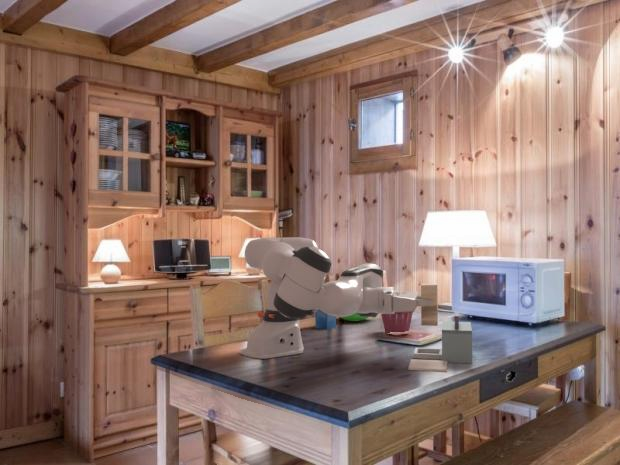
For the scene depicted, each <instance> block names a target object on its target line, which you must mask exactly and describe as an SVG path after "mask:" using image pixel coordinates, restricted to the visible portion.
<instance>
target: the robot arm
mask: <svg viewBox="0 0 620 465" xmlns="http://www.w3.org/2000/svg"><path fill="white" fill-rule="evenodd" d="M244 258H245V262H246V264H248V266H249V267H250V268H253V269H259V270H262V273H263V274H264V275H265V277H266V278H267V279H268V280H269V281H271V282H269V284H268V286H267V288H266V309H265V311H261V310H259V311H258V312H257V313H256V314H257V317H258V318H262V322H260V323H259V324H258V325H257V327H255V329H253V331H251V332H250V333H249V335H248V337H247V340H246V348H242V349H240V351H239V353H240V354H241V355H242V354H243V355H242V356H245V357H249V358H252V359H253V358H254V359H264V360H265V359H273V358H279V357H286V356H291V355H299V354H304V353H303V352H304V350H305V347H304V344H303V339H302V334H301V327H300V319H303V318H305V317H307V316H310V317H311V316H314V310H315V309H317V310H318V309H319V310H321V311H323V312H325V313H326V314H329V315H332V316H336V318H337V317H338V318H341V317H345V316H350V315H352V314H354V313H357V314H358V315H359V316H360V317H368V318H376V317H377V316H378V315H381V314H394V313H395V312H408V311H414V312H415V311H417V308H418V307H421V306H431V305H432V300H431V299H426V300H421V295H420V294H419V292H418V291H400V290H395V287H394V286H383V279H384V278H383V277H384V270H383V269H382V268H381V267H380V266H379V265H378V264H376V263H369V262H368V263H362V264H359V265H357V266H356V267H352V268H349V269H346V270H344V271H342V272H341V274H340V276H339V278H338V279H337V280H331V281H330V280H329V281H327V282H325V280H326V279H327V278H326V277H327V275H328V274H330V271H331V268H332V263H333V262H332V260H331V258H330V257H329V256H328V254H327V253H326V252H325V251H323V250H322V249H321V248H319V246H318V244H317V242H316V241H315V240H314V239H311V238H307V237H306V238H305V237H301V236H299V237H298V236H297V237H295V236H294V237H292V236H291V237H288V236H287V237H286V236H285V237H262V238H257V239H251V240H250V241H248V242H247V244H246V246H245V249H244ZM324 282H325V283H324Z"/></svg>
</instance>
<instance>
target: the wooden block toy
mask: <svg viewBox="0 0 620 465" xmlns="http://www.w3.org/2000/svg"><path fill="white" fill-rule="evenodd" d="M459 318H460V317H459V310H454V321H449V320H448V321H447V320H446V321H445V320H444V321H442V326H441V348H439V347H438V348H434V347H433V348H432V347H414V351H413V359H419V360H442V361H447V363H455V364H458V363H459V364H473V329H472V323H471V321H460V320H459Z"/></svg>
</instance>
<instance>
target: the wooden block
mask: <svg viewBox="0 0 620 465" xmlns="http://www.w3.org/2000/svg"><path fill="white" fill-rule="evenodd" d="M420 296H421V300H426V299H431V300H432V305H431V306H420V315H421V317H420V324H421V326H422V327H423V326H427V327H429V326H430V327H437V326H439V324H438V323H439V322H438V321H439V316H438V315H439V314H438V313H439V312H438V305H439V304H438V283H420Z"/></svg>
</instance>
